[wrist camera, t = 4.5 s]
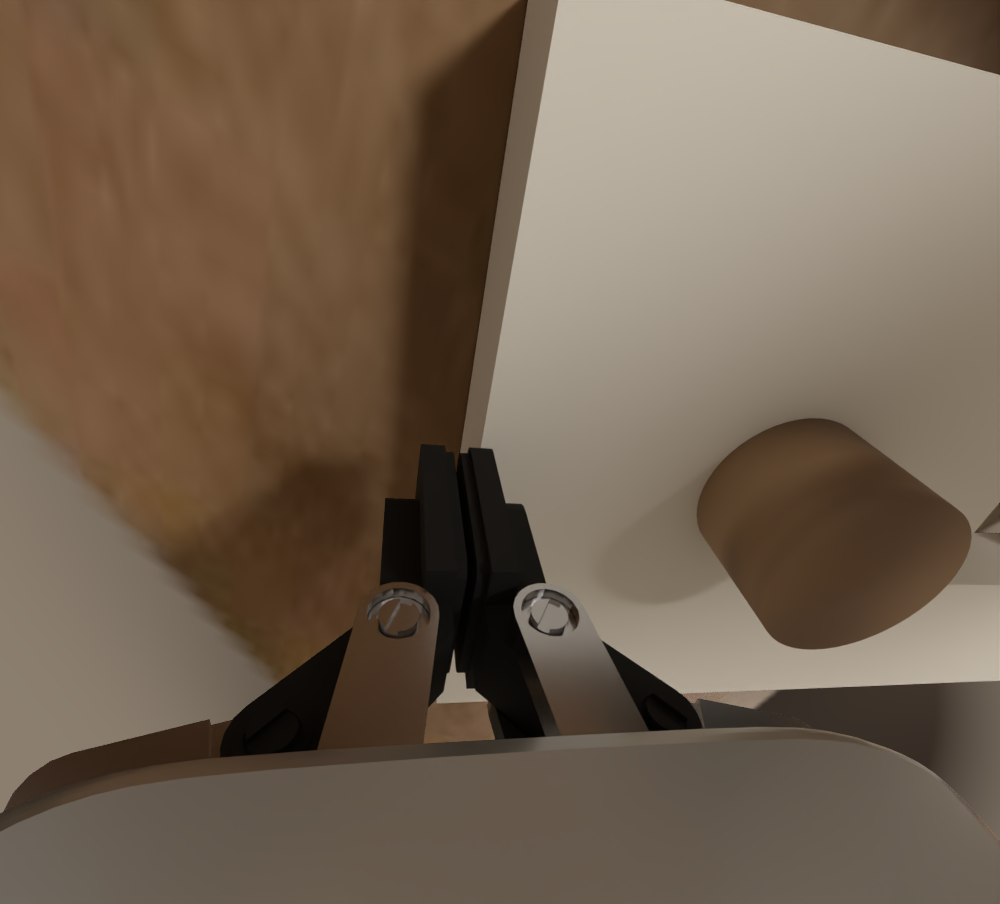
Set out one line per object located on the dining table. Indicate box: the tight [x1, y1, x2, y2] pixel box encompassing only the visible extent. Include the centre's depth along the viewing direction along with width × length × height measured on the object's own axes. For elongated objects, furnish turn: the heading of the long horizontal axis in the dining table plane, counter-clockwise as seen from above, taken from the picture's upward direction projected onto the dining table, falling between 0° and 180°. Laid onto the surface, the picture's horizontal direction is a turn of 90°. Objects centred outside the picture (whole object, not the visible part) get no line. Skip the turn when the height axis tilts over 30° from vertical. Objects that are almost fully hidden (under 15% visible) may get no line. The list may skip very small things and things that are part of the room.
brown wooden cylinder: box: [697, 418, 972, 650], centre depth 14 cm, size 5×5×4 cm
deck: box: [436, 0, 1000, 703], centre depth 18 cm, size 28×20×3 cm
